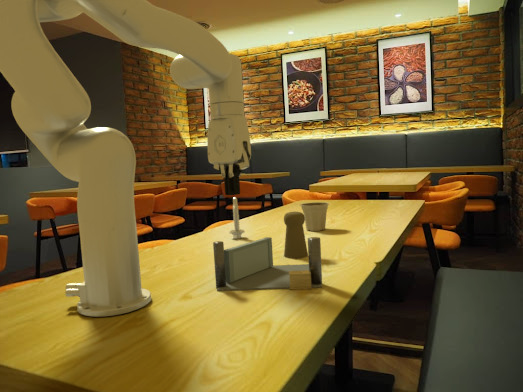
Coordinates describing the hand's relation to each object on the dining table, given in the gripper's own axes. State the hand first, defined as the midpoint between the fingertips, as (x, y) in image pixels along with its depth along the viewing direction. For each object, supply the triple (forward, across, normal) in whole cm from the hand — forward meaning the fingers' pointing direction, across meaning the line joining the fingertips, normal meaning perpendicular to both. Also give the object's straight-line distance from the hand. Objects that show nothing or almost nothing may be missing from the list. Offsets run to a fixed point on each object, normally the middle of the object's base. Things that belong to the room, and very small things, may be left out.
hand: (232, 194), depth 96 cm
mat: (+17, +12, -1) cm, 21 cm away
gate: (+16, +8, -3) cm, 18 cm away
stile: (+17, +21, -2) cm, 27 cm away
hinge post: (+17, +8, -12) cm, 22 cm away
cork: (+17, +4, +16) cm, 24 cm away
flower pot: (+17, -13, +47) cm, 52 cm away
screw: (+17, -26, +24) cm, 40 cm away
